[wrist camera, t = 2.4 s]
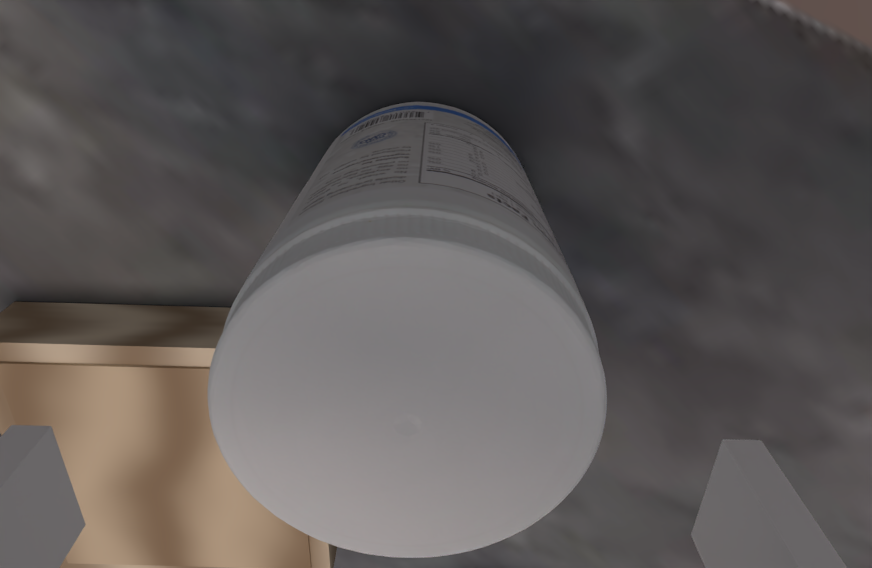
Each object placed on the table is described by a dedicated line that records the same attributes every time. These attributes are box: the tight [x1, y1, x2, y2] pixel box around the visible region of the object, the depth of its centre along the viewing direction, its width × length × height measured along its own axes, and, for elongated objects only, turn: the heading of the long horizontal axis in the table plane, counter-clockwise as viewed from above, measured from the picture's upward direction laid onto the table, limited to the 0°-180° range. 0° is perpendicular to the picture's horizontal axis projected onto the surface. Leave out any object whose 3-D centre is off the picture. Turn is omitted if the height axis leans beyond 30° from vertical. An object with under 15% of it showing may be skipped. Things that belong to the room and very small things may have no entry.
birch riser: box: [0, 302, 337, 568], centre depth 31 cm, size 15×15×4 cm
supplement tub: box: [208, 102, 607, 558], centre depth 21 cm, size 10×10×15 cm
